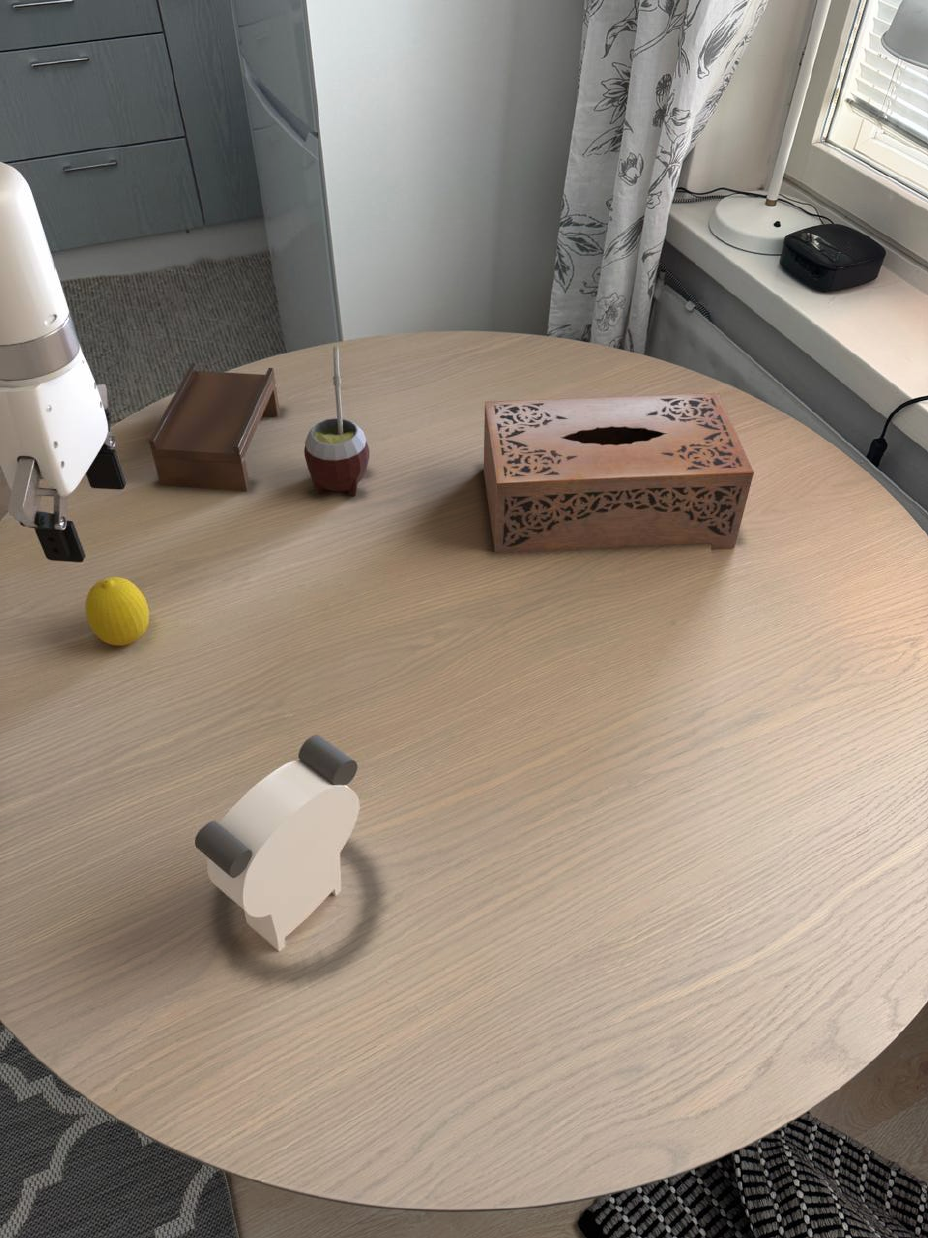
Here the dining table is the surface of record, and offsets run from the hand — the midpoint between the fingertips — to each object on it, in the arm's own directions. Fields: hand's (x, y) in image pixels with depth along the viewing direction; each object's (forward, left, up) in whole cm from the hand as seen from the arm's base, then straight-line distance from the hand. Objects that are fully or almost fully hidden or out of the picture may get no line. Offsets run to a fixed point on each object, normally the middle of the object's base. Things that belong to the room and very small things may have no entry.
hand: (88, 521), depth 86 cm
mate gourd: (+16, +26, -15) cm, 34 cm away
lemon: (0, 0, -15) cm, 15 cm away
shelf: (+1, +31, -15) cm, 35 cm away
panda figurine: (+23, -26, -15) cm, 38 cm away
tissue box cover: (+46, +25, -15) cm, 54 cm away
